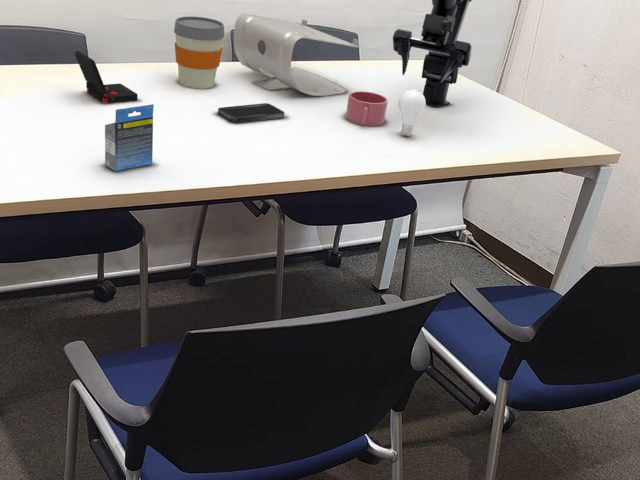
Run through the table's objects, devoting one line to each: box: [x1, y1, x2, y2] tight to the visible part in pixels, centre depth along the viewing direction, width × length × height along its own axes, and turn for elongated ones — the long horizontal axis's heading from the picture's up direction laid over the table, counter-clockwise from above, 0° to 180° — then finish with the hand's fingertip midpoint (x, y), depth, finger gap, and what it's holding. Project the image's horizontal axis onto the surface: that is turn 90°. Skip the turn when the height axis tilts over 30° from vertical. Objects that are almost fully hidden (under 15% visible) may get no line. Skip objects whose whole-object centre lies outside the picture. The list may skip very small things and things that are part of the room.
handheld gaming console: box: [74, 50, 138, 104], centre depth 206 cm, size 9×12×10 cm
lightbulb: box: [398, 88, 427, 137], centre depth 208 cm, size 6×6×11 cm
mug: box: [345, 90, 389, 127], centre depth 215 cm, size 13×10×6 cm
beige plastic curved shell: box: [233, 13, 360, 97], centre depth 233 cm, size 26×24×16 cm
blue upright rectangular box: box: [104, 103, 155, 173], centre depth 171 cm, size 9×4×12 cm, turn 133°
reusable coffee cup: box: [173, 16, 225, 90], centre depth 222 cm, size 13×12×15 cm
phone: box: [217, 102, 285, 124], centre depth 209 cm, size 8×1×15 cm
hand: (421, 77), depth 209 cm, fingers open, 9 cm apart
